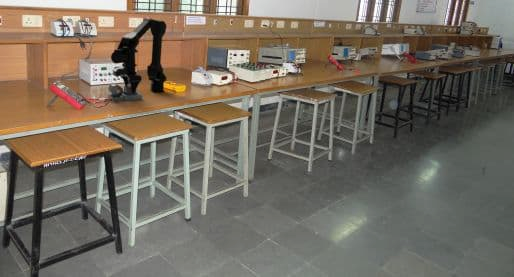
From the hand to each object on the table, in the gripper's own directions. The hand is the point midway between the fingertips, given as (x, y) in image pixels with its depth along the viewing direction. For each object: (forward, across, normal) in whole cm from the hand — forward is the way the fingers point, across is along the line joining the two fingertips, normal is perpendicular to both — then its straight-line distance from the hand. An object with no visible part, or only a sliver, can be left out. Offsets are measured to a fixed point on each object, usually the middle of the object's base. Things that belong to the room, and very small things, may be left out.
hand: (130, 91), depth 221 cm
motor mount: (+4, 0, -3) cm, 5 cm away
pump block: (+4, 0, 0) cm, 4 cm away
